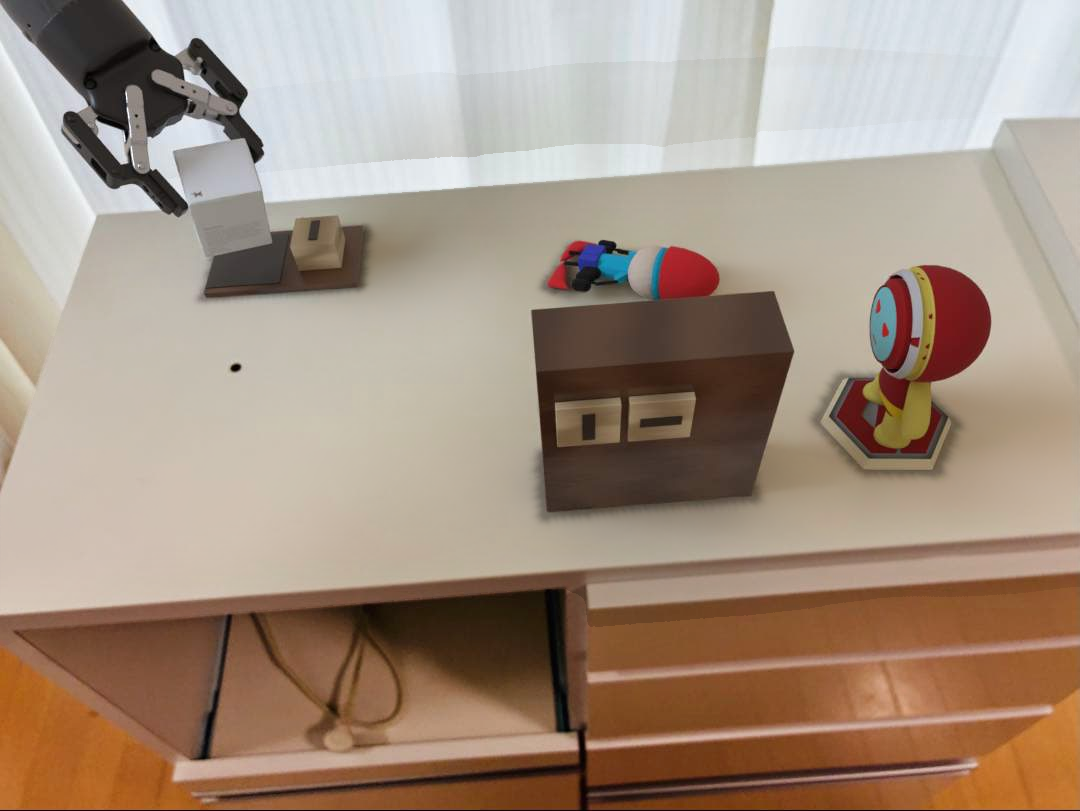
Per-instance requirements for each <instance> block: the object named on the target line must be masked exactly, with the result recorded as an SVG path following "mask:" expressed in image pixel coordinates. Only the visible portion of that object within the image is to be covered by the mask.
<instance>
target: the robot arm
mask: <svg viewBox="0 0 1080 811" xmlns="http://www.w3.org/2000/svg"><path fill="white" fill-rule="evenodd" d="M0 7H2V9H3V11H4V12H5V13H6V14H7V16H8V18H10V19H11V21H12V22H13V23H14V24H15V26H17V28H18V29H19V30H20V31H21V33H22V35H23V37H25V39H26V40H27V41H28V42H29V43H31V44H32V45H33V46H35V47H36V49H37V50H38V51H39V52H40V53H41V54H42V55H43V56H44V58H46V60H48V62H49V63H50V64H51V65H52V66H53V67H54V68H55V69H56V70H57V72H59V74H60V75H61V76H62V77H63V78H64V79H65V81H66V82H67V83H68V84H69V85H70V86H71V87H72V88H73V89H74V90H75V91H76V92H77V94H79V95H80V96H81V97H82V98H83V99H84V101H85V102H86V105H87V107H85V108H83V109H81V110H79V111H78V112H75V111H73V110H67V111H65V112H64V114H63V116H62V122H61V126H60V132H61V134H62V136H63V137H64V138H65V139H66V141H67V142H69V144H70V145H71V146H72V147H73V148H74V149H75V151H76V152H77V153H78V154H79V155H80V156H81V158H82V159H83V160H84V161H85V162H86V164H88V166H89V167H90V168H91V169H92V170H93V172H95V174H96V175H97V176H98V177H99V178H100V180H101V181H102V182H103V183H104V184H105V185H106V187H108V188H109V189H112V190H117V189H120V188H121V187H124V186H127V185H135V186H138V187H139V188H140V189H141V190H142V191H143V192H144V193H145V194H146V195H147V196H148V197H149V199H151V201H152V202H153V203H154V204H155V205H156V206H157V207H158V208H159V209H160V210H161V211H162V212H163V213H165V214H166V215H168V216H170V215H171V214H173V215H174V216H175V217H177V218H180V217H182V216H184V215H185V214H186V213H187V211H189V207H188V204H187V201H186V199H184V198H183V196H181V194H180V193H179V192H178V191H177V190H176V188H174V187H173V185H171V183H170V182H169V181H168V180H167V179H166V177H164V176H163V175H162V174H161V173H160V171H159V170H158V169H157V168H154V169H152V168H151V165H150V155H149V149H148V143H149V139H148V138H151V139H154V138H156V137H157V136H159V135H160V134H161V133H162V132H163V130H164V129H165V128H167V127H170V126H174V125H176V124H177V123H179V122H181V121H182V119H183V118H184V116H185V117H189V118H191V119H195V120H205V121H208V122H211V123H213V124H216V125H219V126H222V127H224V128H223V130H222V132H223V133H224V135H225V136H226V137H227V138H228V140H234V139H241V138H244V139H245V140H246V142H247V145H248V147H249V150H250V153H251V156H252V159H253V162H254V165H256V164H257V163H259V162H261V160H262V158H263V157H264V156H265V151H264V149H263V147H264V146H265V145H264V143H263V140H262V139H261V138H260V136H259V135H258V134H257V132H256V131H255V130H254V129H252V127H251V125H249V123H248V122H247V121H246V120H245V118H244V117H243V116H242V114H241V112H240V110H241V107H242V105H243V104H244V103H245V101H246V99H247V98H248V96H249V90H248V88H246V86H244V85H243V83H242V82H241V80H239V79H238V78H237V76H236V75H235V74H234V73H233V72H232V71H231V70H230V69H229V68H228V66H226V65H225V64H224V62H223V61H222V60H221V59H220V58H219V57H218V56H217V55H216V53H215V52H214V51H213V50H212V49H211V48H210V47H209V45H208V44H206V42H205V41H204V40H203V39H201V38H199V37H194V38H192V39H190V42H189V44H188V45H187V47H186V48H184V49H183V50H182V51H180V52H179V53H177V54H175V55H174V54H171V53H169V52H167V51H166V50H164V49H163V47H161V45H159V43H158V41H157V40H156V38H155V37H154V36H153V34H152V33H151V31H149V29H148V28H147V27H146V26H145V25H144V23H143V22H142V21H141V20H140V19H139V18H138V17H137V15H135V13H134V12H133V11H132V10H131V8H130V7H129V6H128V5H127V4H126V3H125V1H123V0H0ZM184 70H186V71H188V72H190V73H191V74H192V75H193V76H199V77H200V78H201V79H202V80H203V81H204V82H205V83H206V84H207V85H208V86H209V87H210V88H211V90H212V91H213V92H214V93H215V94H216V95H215V94H213V93H211V91H210V90H209V89H207V88H205V87H203V86H200V85H196V84H194V83H191V82H189V81H186V77H185V71H184ZM96 122H98V123H100V124H103V125H105V126H107V127H112V128H115V129H117V130H120V131H121V132H122V133H121V134H122V140H123V147H124V155H125V156H126V162H127V163H121V162H120V161H119V160H118V159H117V157H115V155H113V153H112V152H111V150H109V148H108V147H107V146H106V145H105V144H104V143H103V142H102V140H101V139H100V138H99V137H98V136H99V131H100V130H99V127H98V125H97V123H96Z"/></svg>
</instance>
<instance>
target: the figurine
mask: <svg viewBox="0 0 1080 811" xmlns="http://www.w3.org/2000/svg"><path fill="white" fill-rule="evenodd" d="M990 308H991V307H990V304H989V301H988V299H987V298H986V295H985V294H984V291H983V290H982V289H981V287H980V286H979V285H978V284H977V283H976V282H975V281H974V280H973V279H972V278H970V277H969V276H968V275H966V274H964V273H963V272H961V271H960V270H957V269H954V268H951V267H948V266H943V265H939V264H921V265H917V266H912V267H910V268H901V269H899V270H897V271H895V272H893V273H892V274H891V275H889V276H888V277H887V279H886V280H885V282H884V284H882V285H881V286H880V287H878V289H877V290H876V292H875V294H874V297H873V300H872V303H871V308H870V314H869V341H870V348H871V351H872V354H873V357H874V358H875V360H876V362H878V363H880V365H881V369H880V370H879V371H878V374H877V375H876V376H875V377H847V378H843V379H841V382H840V384H839V386H838V387H837V390H836V392H835V393H834V395H833V397H832V399H831V401H830V403H829V404H828V406H827V408H826V410H825V412H824V414H823V416H822V418H821V420H820V422H819V424H820V425H821V426H822V427H823V428H824V429H825V430H826V431H827V432H828V433H829V434H830V436H831V437H832V438H833V439H834V440H835V441H836V442H837V443H838V444H839V445H840V446H841V447H842V448H843V450H845V451H846V453H847V454H849V456H850V457H851V458H852V459H853V460H854V461H855V462H856V463H857V465H858V466H859V467H861V469H862V470H873V471H875V470H879V471H881V470H882V471H885V470H887V471H890V470H891V471H933V469H934V467H935V465H936V462H937V460H938V458H939V454H940V452H941V450H942V447H943V445H944V442H945V440H946V438H947V435H948V433H949V430H950V428H951V426H952V421H951V418H950V416H948V414H946V413H945V412H944V411H943V410H942V409H941V408H940V407H939V406H938V405H936V403H935V402H934V401H932V389H931V388H932V387H931V385H932V383H933V382H940V381H944V380H948V379H951V378H952V377H955V376H957V375H959V374H960V373H962V372H964V371H965V370H966V369H968V368H969V367H970V366H972V364H974V363H975V362H976V361H977V359H978V358H979V357H980V355H981V354H982V352H984V349H985V348H986V346H987V344H988V341H989V338H990V335H991V329H992V313H991V309H990Z"/></svg>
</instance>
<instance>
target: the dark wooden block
mask: <svg viewBox="0 0 1080 811" xmlns="http://www.w3.org/2000/svg"><path fill="white" fill-rule="evenodd" d="M530 314H531V327H532V339H533V340H532V341H533V352H534V354H533V355H534V365H535V380H536V391H537V404H538V417H539V429H540V440H541V442H540V443H541V444H540V445H541V454H542V467H543V470H542V471H543V481H544V482H543V483H544V493H545V494H544V495H545V506H546V507H545V508H546V512H549V513H550V512H563V511H575V510H577V511H578V510H588V509H600V508H601V509H602V508H613V507H614V508H615V507H625V506H640V505H653V504H654V505H655V504H665V503H678V502H689V501H690V502H691V501H704V500H705V501H706V500H715V499H717V500H718V499H728V498H729V499H730V498H742V497H752V495H753V491H754V487H755V484H756V481H757V478H758V475H759V474H758V473H759V470H760V468H761V465H762V461H763V458H764V455H765V452H766V447H767V444H768V441H769V437H770V434H771V431H772V427H773V424H774V420H775V418H776V414H777V411H778V408H779V404H780V401H781V398H782V394H783V392H784V388H785V384H786V380H787V377H788V374H789V370H790V368H791V364H792V362H793V361H792V360H793V358H794V354H795V348H794V346H793V343H792V339H791V336H790V333H789V331H788V328H787V326H786V321H785V319H784V316H783V313H782V310H781V307H780V304H779V301H778V298H777V295H776V292H775V290H770V291H769V290H768V291H755V292H754V291H753V292H742V293H728V294H717V295H710V296H702V297H689V298H676V299H663V300H654V299H652V300H651V299H650V300H638V301H637V300H636V301H625V302H613V303H612V302H611V303H599V304H588V305H587V304H585V305H575V306H573V305H572V306H562V307H561V306H560V307H548V308H536V309H531V311H530Z"/></svg>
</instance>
